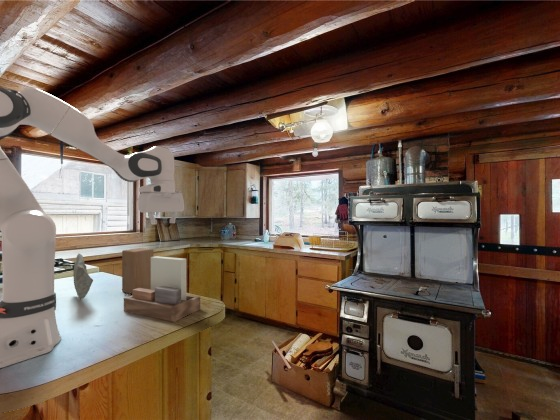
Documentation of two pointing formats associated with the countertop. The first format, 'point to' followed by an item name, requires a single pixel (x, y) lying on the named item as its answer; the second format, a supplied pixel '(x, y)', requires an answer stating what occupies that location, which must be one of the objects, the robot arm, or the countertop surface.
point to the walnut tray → (162, 308)
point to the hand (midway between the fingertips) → (163, 223)
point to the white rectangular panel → (169, 273)
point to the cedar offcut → (144, 294)
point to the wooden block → (136, 269)
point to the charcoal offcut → (168, 295)
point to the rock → (81, 277)
